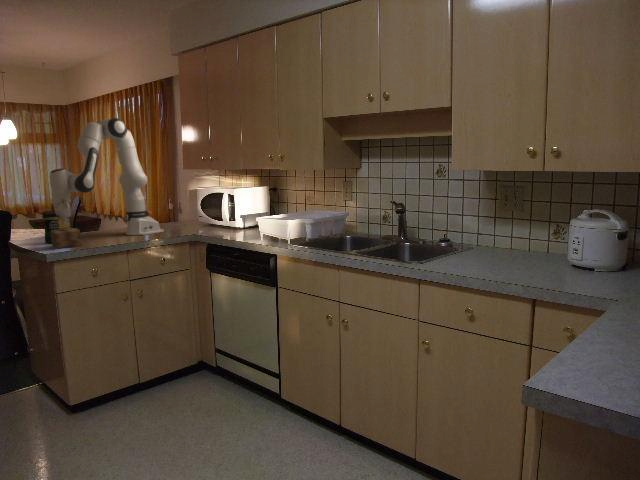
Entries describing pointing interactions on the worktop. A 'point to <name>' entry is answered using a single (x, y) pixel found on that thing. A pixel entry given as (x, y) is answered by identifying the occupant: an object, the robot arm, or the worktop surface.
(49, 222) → the coffee jar
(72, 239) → the tip box
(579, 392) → the worktop surface
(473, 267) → the worktop surface
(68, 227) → the token
